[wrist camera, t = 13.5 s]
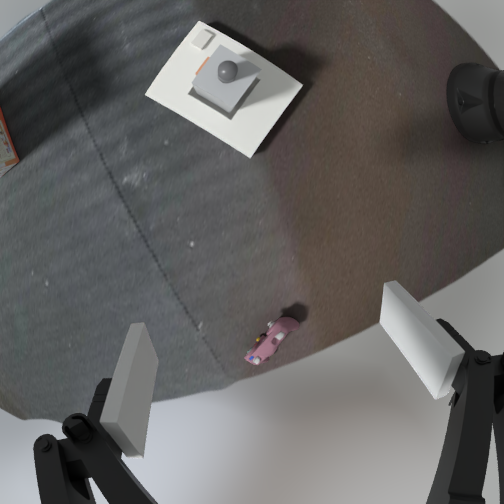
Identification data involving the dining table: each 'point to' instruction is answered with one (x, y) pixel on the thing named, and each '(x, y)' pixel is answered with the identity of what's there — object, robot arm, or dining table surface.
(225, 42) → the socket plate
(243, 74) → the plug
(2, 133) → the cracker box
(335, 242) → the dining table surface
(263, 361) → the video game controller
